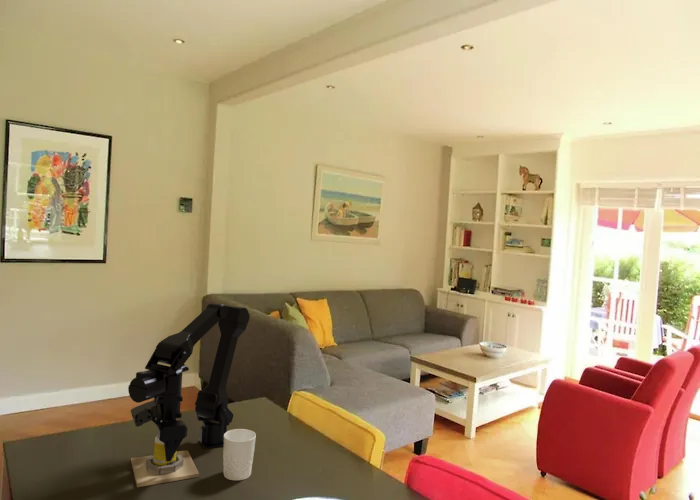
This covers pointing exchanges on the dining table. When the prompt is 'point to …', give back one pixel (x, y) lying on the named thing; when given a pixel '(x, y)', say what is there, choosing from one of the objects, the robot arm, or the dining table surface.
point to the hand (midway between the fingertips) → (165, 453)
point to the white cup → (238, 453)
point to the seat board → (163, 469)
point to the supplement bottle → (161, 454)
